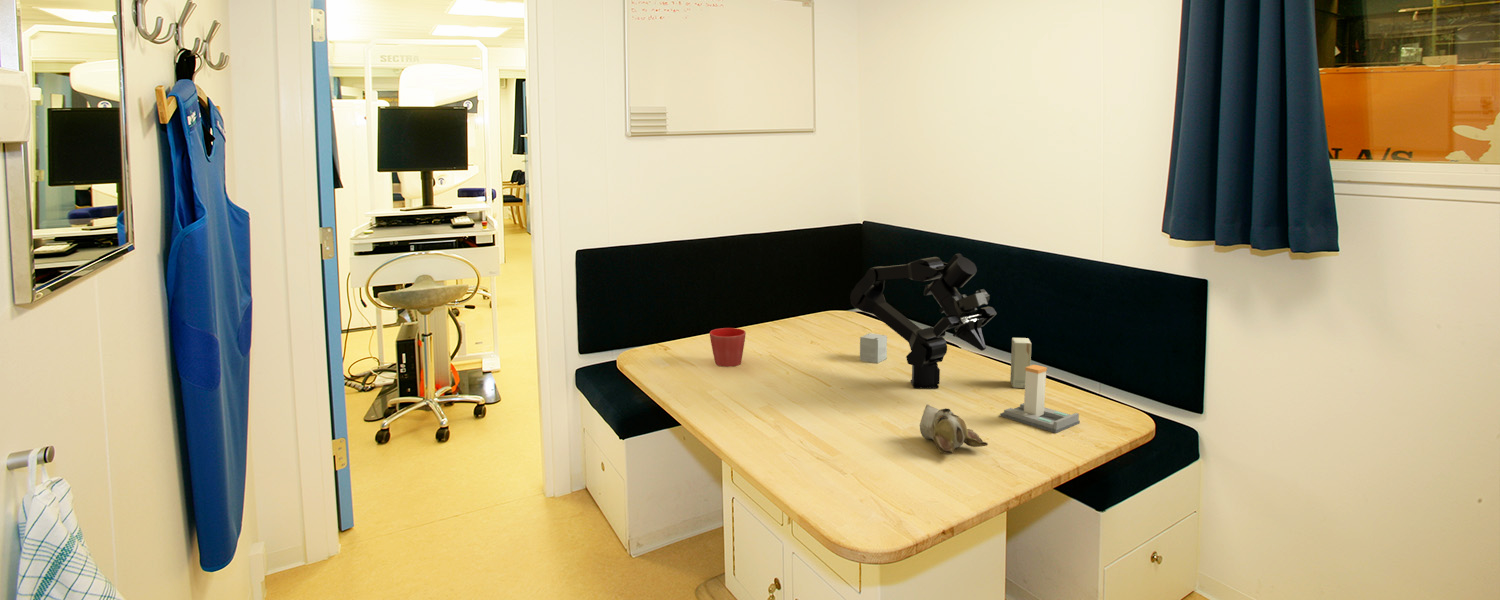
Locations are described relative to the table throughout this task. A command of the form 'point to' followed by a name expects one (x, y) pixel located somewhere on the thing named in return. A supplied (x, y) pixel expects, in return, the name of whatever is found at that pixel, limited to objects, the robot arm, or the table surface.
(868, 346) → the skincare box
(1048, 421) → the console
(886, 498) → the table surface
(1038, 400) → the fader knob
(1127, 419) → the table surface
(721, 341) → the flower pot
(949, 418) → the ceramic sculpture
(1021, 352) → the skincare box
